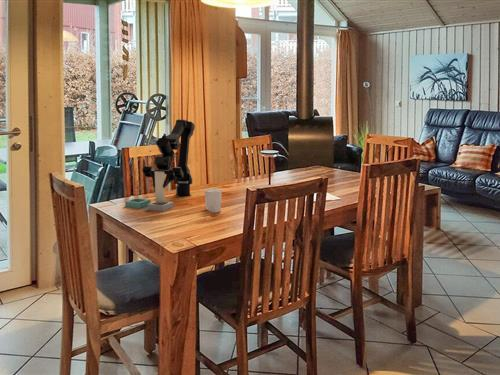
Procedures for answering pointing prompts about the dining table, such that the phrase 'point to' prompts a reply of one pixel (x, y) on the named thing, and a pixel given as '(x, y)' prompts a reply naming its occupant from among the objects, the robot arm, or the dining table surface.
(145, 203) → the socket board
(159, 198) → the peg
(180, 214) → the dining table surface
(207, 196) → the white cup
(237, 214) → the dining table surface
